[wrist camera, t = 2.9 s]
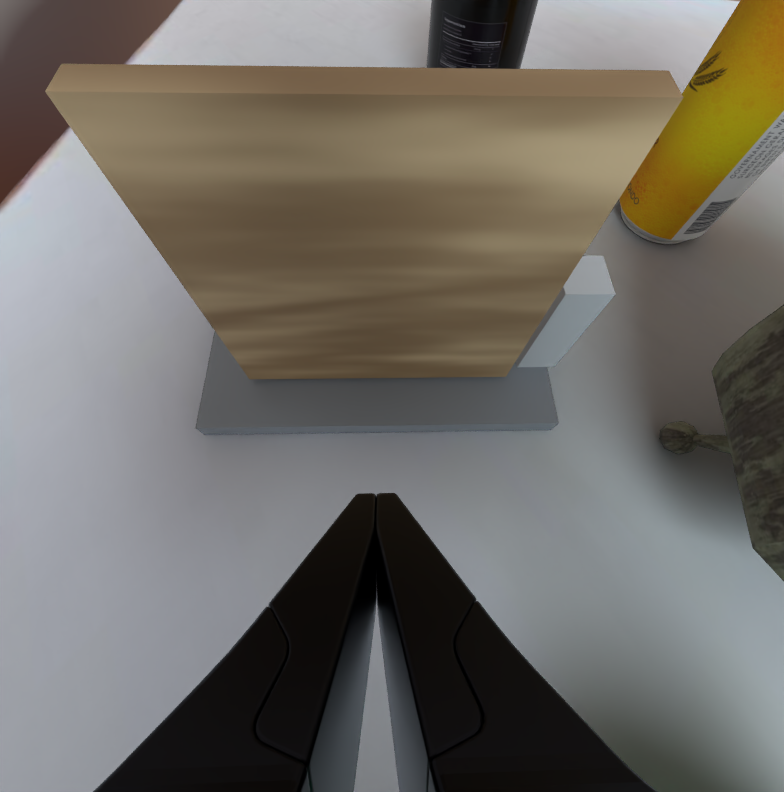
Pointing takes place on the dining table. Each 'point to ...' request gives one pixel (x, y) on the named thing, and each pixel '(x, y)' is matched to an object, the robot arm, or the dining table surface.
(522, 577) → the dining table surface
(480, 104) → the door
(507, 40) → the supplement bottle
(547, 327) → the housing stand
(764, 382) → the tabletop clock
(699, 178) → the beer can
